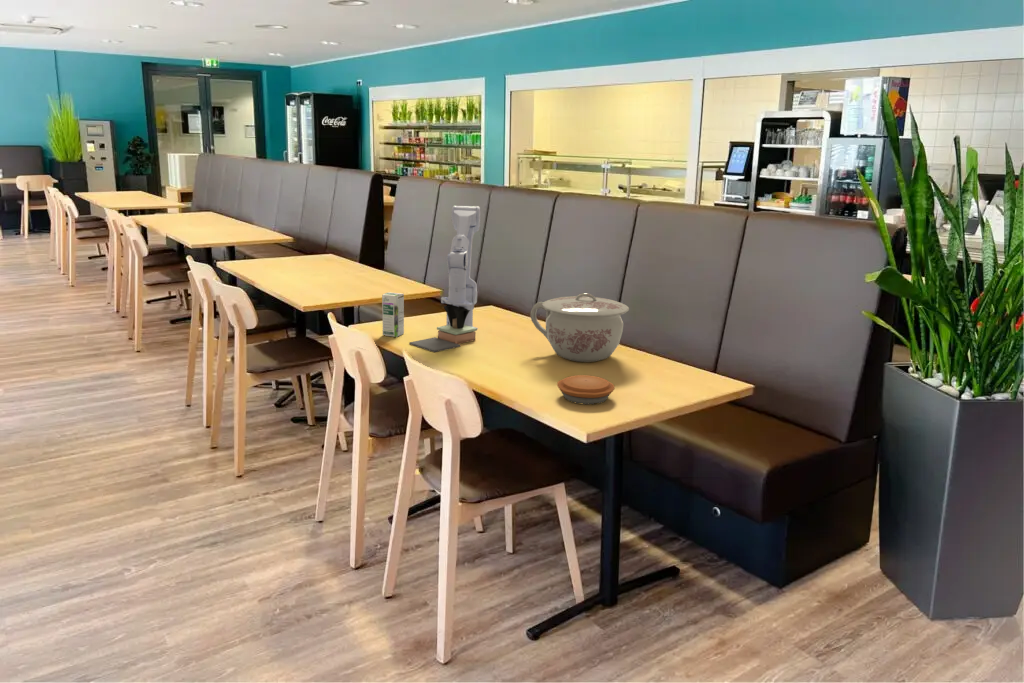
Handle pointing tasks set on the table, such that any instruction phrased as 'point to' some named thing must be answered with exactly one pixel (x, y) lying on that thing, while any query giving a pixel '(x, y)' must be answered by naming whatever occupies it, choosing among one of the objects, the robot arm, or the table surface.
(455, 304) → the robot arm
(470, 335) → the dish
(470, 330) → the lid
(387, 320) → the syrup box
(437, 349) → the mat
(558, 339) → the chamber pot
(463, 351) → the table surface
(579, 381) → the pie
